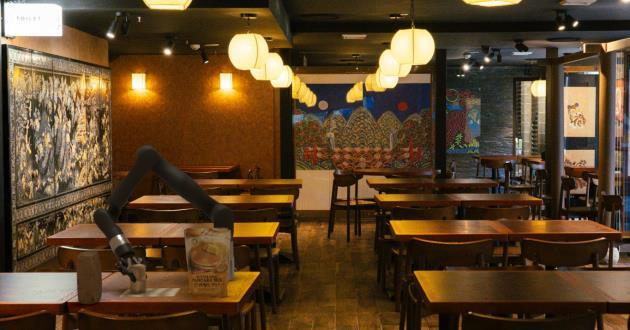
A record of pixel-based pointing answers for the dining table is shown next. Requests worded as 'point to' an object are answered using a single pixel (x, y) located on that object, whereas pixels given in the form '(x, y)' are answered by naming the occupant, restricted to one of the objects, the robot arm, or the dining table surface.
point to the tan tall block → (138, 279)
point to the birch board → (152, 292)
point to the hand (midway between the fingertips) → (140, 280)
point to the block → (89, 278)
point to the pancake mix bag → (208, 260)
